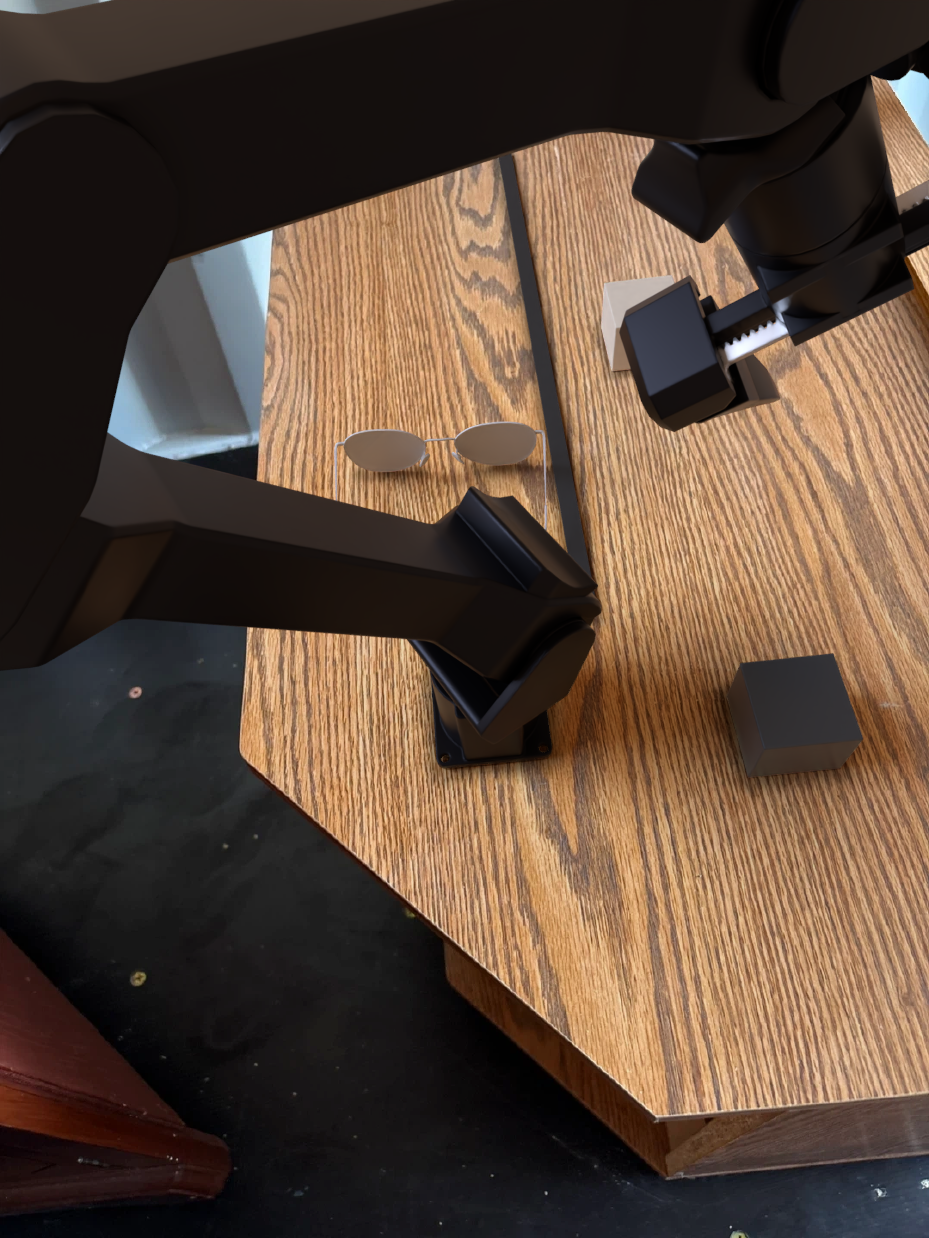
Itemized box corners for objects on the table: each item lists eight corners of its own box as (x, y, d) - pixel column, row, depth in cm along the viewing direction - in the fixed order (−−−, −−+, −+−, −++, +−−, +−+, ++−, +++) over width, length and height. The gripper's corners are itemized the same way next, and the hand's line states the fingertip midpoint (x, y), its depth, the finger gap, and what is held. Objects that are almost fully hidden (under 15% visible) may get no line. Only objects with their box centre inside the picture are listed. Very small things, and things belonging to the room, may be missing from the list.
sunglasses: (544, 461, 59) (545, 418, 54) (551, 571, 56) (552, 535, 51) (346, 472, 60) (330, 431, 55) (341, 581, 57) (324, 547, 52)
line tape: (597, 611, 52) (597, 610, 52) (578, 613, 52) (578, 612, 52) (511, 155, 79) (511, 153, 78) (498, 157, 79) (498, 155, 78)
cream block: (679, 364, 63) (687, 319, 59) (611, 372, 63) (615, 328, 60) (665, 319, 65) (672, 274, 62) (600, 327, 66) (603, 282, 62)
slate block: (840, 768, 46) (864, 739, 42) (747, 778, 46) (764, 749, 43) (813, 686, 49) (833, 652, 45) (725, 695, 49) (739, 662, 45)
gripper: (996, -160, 29) (1001, 124, 42) (529, 160, 38) (652, 313, 51) (1141, 85, 26) (1097, 310, 39) (594, 373, 35) (708, 478, 48)
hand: (862, 352), depth 44 cm, fingers open, 9 cm apart
